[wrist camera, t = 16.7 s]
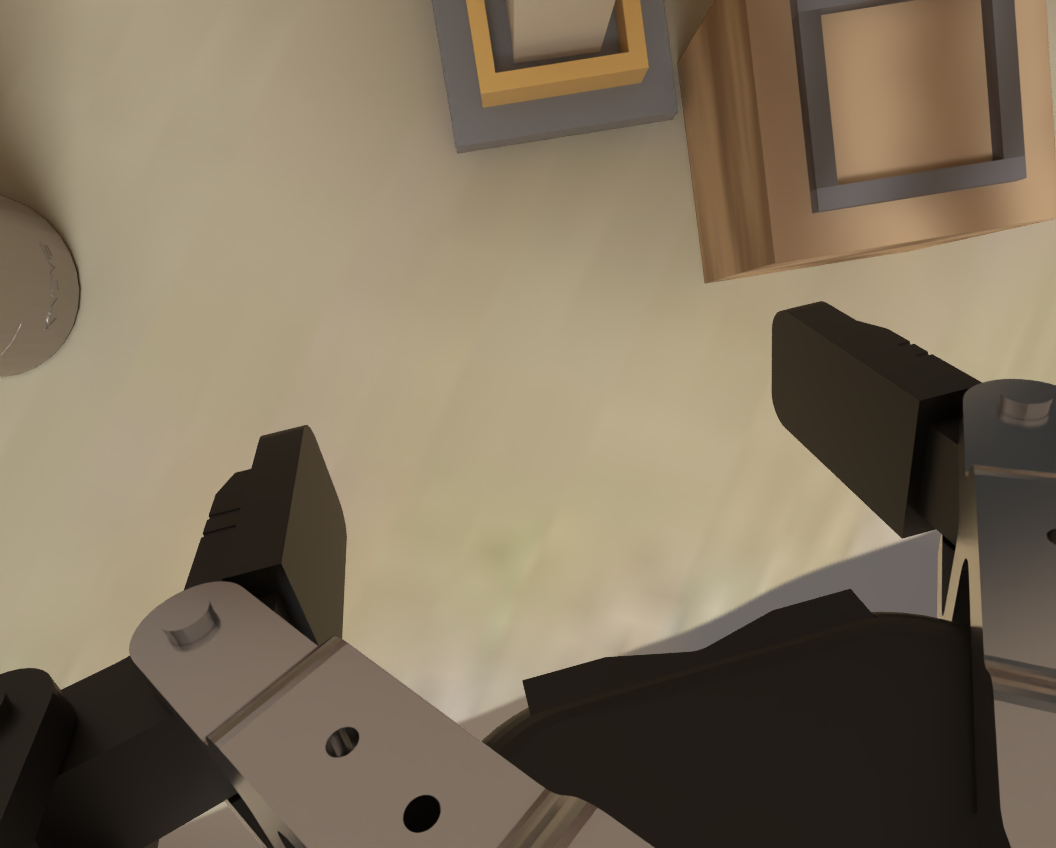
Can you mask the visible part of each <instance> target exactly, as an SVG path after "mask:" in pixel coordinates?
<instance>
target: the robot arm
mask: <svg viewBox="0 0 1056 848" xmlns="http://www.w3.org/2000/svg"><path fill="white" fill-rule="evenodd" d="M78 301H79V285H78V278H77V271H76V268H75V265H74V263H73V260H72V257H71V254H70V252H69V250H68V248H67V247H66V245H65V243H64V242H63V240H62V238H61V237H60V235H59V234H58V233H57V232H56V231H55V230H54V228H53V227H52V226H51V225H50V224H49V223H48V222H47V221H46V220H45V219H44V218H43V217H41V216H40V215H39V214H37V213H36V212H34V211H33V210H32V209H30V208H29V207H27V206H25V205H23V204H21V203H18V202H16V201H14V200H12V199H10V198H6V197H2V196H0V377H5V376H11V375H17V374H21V373H23V372H26V371H28V370H31V369H33V368H36V367H37V366H39V365H40V364H42V363H43V362H45V361H46V360H47V359H49V358H50V357H52V355H53V354H54V353H55V352H56V351H57V350H58V349H59V348H60V347H61V346H62V344H63V343H64V342H65V340H66V338H67V336H68V335H69V333H70V331H71V329H72V327H73V324H74V321H75V317H76V314H77V311H78ZM772 400H773V405H774V408H775V411H776V414H777V416H778V418H779V420H780V422H781V423H782V425H783V426H784V427H785V428H786V429H787V430H788V431H789V432H790V433H791V434H792V435H793V436H794V437H795V438H797V439H798V440H799V441H800V442H801V443H802V444H803V445H804V446H805V447H806V448H807V449H808V450H809V451H810V452H811V453H812V454H813V455H814V456H816V457H817V458H818V459H819V460H820V461H821V462H822V463H823V464H824V465H825V466H826V467H827V468H828V469H829V470H830V471H831V472H832V473H833V474H835V475H836V476H837V477H838V478H839V479H840V480H841V481H842V482H843V483H844V484H845V485H846V486H847V487H848V488H849V489H850V490H851V491H852V492H853V493H855V494H856V495H857V496H858V497H859V498H860V499H861V500H862V501H863V502H864V503H865V504H866V505H867V506H868V507H869V508H870V509H871V510H872V511H874V512H875V513H876V514H877V515H878V516H879V517H880V518H881V519H882V520H883V521H884V522H885V523H886V524H887V525H888V526H889V527H890V528H891V529H893V530H894V531H895V532H896V533H897V534H898V535H899V536H900V537H901V538H906V537H910V536H913V535H917V534H920V533H924V532H928V531H931V530H935V529H937V530H938V531H939V532H940V533H941V539H940V546H939V551H938V599H937V601H938V602H937V618H934V617H929V616H925V615H917V614H909V613H897V612H896V613H895V612H870V611H869V610H868V609H867V607H866V606H865V605H864V604H863V603H862V602H861V600H859V598H858V597H857V596H856V595H855V593H853V591H852V590H851V589H848V590H844V591H841V592H837V593H834V594H830V595H827V596H823V597H819V598H816V599H812V600H809V601H805V602H802V603H798V604H794V605H791V606H787V607H784V608H780V609H776V610H773V611H771V612H769V613H767V614H765V615H764V616H762V617H760V618H758V619H756V620H755V621H753V622H751V623H749V624H747V625H746V626H744V627H742V628H741V629H738V630H737V631H735V632H733V633H731V634H730V635H728V636H726V637H724V638H722V639H720V640H719V641H717V642H715V643H713V644H711V645H710V646H708V647H706V648H704V649H701V650H698V651H693V652H681V653H665V654H651V655H634V656H618V657H605V658H601V659H598V660H594V661H590V662H587V663H583V664H580V665H576V666H573V667H569V668H565V669H562V670H558V671H555V672H551V673H548V674H544V675H540V676H537V677H533V678H530V679H526V680H523V685H524V690H525V694H526V698H527V702H528V706H529V707H528V708H526V709H525V710H523V711H521V712H519V713H518V714H516V715H514V716H513V717H511V718H510V719H508V720H507V721H506V722H504V723H503V724H501V725H500V726H498V727H497V728H496V729H495V730H493V731H492V732H491V733H490V734H489V735H488V736H487V737H485V738H484V739H483V740H482V741H480V740H479V739H477V738H476V737H475V736H473V735H472V734H471V733H469V732H468V731H466V730H465V729H464V728H462V727H461V726H460V725H458V724H457V723H456V722H454V721H453V720H452V719H450V718H449V717H448V716H446V715H445V714H443V713H442V712H441V711H439V710H438V709H437V708H435V707H434V706H433V705H431V704H430V703H429V702H427V701H426V700H424V699H423V698H422V697H420V696H419V695H418V694H416V693H415V692H414V691H412V690H411V689H410V688H408V687H407V686H406V685H404V684H403V683H401V682H400V681H399V680H397V679H396V678H395V677H393V676H392V675H391V674H389V673H388V672H387V671H385V670H384V669H382V668H381V667H380V666H378V665H377V664H376V663H374V662H373V661H372V660H370V659H369V658H368V657H366V656H365V655H363V654H362V653H361V652H359V651H358V650H357V649H355V648H354V647H353V646H351V645H350V644H349V643H347V642H346V641H344V640H343V639H342V628H343V606H344V584H345V563H346V541H347V535H346V526H345V520H344V515H343V511H342V508H341V504H340V501H339V499H338V496H337V493H336V491H335V488H334V485H333V483H332V480H331V478H330V475H329V472H328V470H327V467H326V464H325V462H324V459H323V456H322V454H321V451H320V449H319V446H318V443H317V441H316V438H315V436H314V434H313V432H312V430H311V428H310V427H309V426H308V425H304V426H300V427H296V428H292V429H288V430H284V431H279V432H275V433H271V434H267V435H263V436H261V437H260V439H259V443H258V446H257V450H256V454H255V457H254V461H253V465H252V468H251V469H249V470H245V471H241V472H237V473H235V474H234V475H233V476H232V477H231V478H230V479H229V480H228V481H227V482H226V484H225V485H224V486H223V487H222V488H221V489H220V490H219V491H218V493H217V494H216V495H215V498H214V501H213V504H212V507H211V510H210V513H209V518H210V519H209V520H207V522H206V525H205V528H204V531H203V535H204V537H202V538H201V540H200V543H199V546H198V549H197V552H196V555H195V558H194V561H193V564H192V567H191V570H190V573H189V576H188V579H187V582H186V585H185V588H184V591H182V592H180V593H178V594H176V595H174V596H172V597H171V598H169V599H167V600H166V601H164V602H163V603H162V604H160V605H159V606H157V607H156V608H155V609H154V610H153V611H152V612H150V613H149V614H148V615H147V616H146V618H145V619H144V620H143V621H142V622H141V623H140V625H139V626H138V627H137V629H136V630H135V632H134V634H133V636H132V639H131V642H130V647H129V652H130V656H128V657H127V658H125V659H123V660H121V661H119V662H117V663H116V664H114V665H112V666H110V667H107V668H105V669H103V670H101V671H99V672H97V673H95V674H93V675H91V676H89V677H87V678H85V679H83V680H81V681H79V682H76V683H74V684H72V685H70V686H68V687H66V688H64V689H62V690H60V689H59V687H58V686H57V685H56V683H55V682H54V681H53V679H52V678H51V677H50V675H49V674H48V673H46V672H45V671H43V670H40V669H36V668H25V669H17V670H13V671H9V672H6V673H3V674H0V848H157V847H158V842H159V839H160V838H161V837H163V836H165V835H167V834H168V833H170V832H172V831H173V830H175V829H177V828H179V827H180V826H182V825H184V824H185V823H187V822H189V821H191V820H192V819H194V818H196V817H197V816H199V815H201V814H203V813H204V812H206V811H208V810H209V809H211V808H213V807H215V806H216V805H218V804H220V803H221V802H223V801H225V802H226V803H227V805H228V806H229V807H230V808H231V810H232V811H233V812H234V813H235V814H236V816H237V817H238V818H239V819H240V820H241V822H242V823H243V824H244V825H245V826H246V828H247V829H248V830H249V831H250V833H251V834H252V835H253V836H254V837H255V839H256V840H257V841H258V842H259V843H260V845H261V846H262V847H263V848H1056V385H1053V384H1049V383H1044V382H1040V381H1033V380H1024V379H1000V380H992V381H987V382H983V383H982V382H980V381H978V380H976V379H975V378H973V377H971V376H969V375H968V374H966V373H964V372H962V371H961V370H959V369H957V368H955V367H954V366H952V365H950V364H948V363H947V362H945V361H943V360H941V359H940V358H938V357H936V356H934V355H933V354H932V355H928V352H927V351H926V350H924V349H922V348H920V347H919V346H917V345H915V344H912V345H910V341H908V340H906V339H905V338H903V337H901V336H899V335H897V334H896V333H894V332H892V331H890V330H889V329H886V328H882V327H879V326H875V325H871V324H867V323H864V322H860V321H856V320H855V319H853V318H851V317H850V316H848V315H846V314H844V313H843V312H841V311H839V310H838V309H836V308H834V307H833V306H831V305H829V304H827V303H825V302H822V301H820V302H816V303H812V304H807V305H803V306H799V307H795V308H791V309H787V310H783V311H779V312H778V313H777V314H776V315H775V317H774V320H773V324H772Z"/></svg>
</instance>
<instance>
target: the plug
mask: <svg viewBox="0 0 1056 848" xmlns="http://www.w3.org/2000/svg"><path fill="white" fill-rule="evenodd" d="M614 3H615V0H506V6H507V14H508V22H509V29H510V37H511V45H512V53H513V60H514V63H520V62H527V61H535V60H543V59H550V58H558V57H565V56H573V55H580V54H588V53H595V52H600V50H601V46H602V43H603V40H604V37H605V33H606V30H607V27H608V23H609V20H610V17H611V13H612V10H613V7H614Z"/></svg>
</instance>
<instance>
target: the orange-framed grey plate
mask: <svg viewBox="0 0 1056 848" xmlns="http://www.w3.org/2000/svg"><path fill="white" fill-rule="evenodd" d="M432 4H433V10H434V16H435V22H436V28H437V34H438V41H439V47H440V53H441V59H442V65H443V71H444V77H445V83H446V90H447V96H448V102H449V108H450V114H451V120H452V126H453V132H454V139H455V145H456V149H457V152H458V153H462V152H469V151H475V150H481V149H488V148H494V147H500V146H507V145H513V144H519V143H526V142H532V141H538V140H545V139H551V138H557V137H564V136H570V135H576V134H583V133H589V132H595V131H601V130H608V129H614V128H620V127H627V126H633V125H639V124H646V123H652V122H658V121H665V120H671V119H673V118H674V116H675V115H676V113H677V112H678V110H677V102H676V94H675V87H674V79H673V71H672V63H671V55H670V47H669V39H668V31H667V23H666V15H665V7H664V0H615V3H614V7H613V10H612V13H611V17H610V20H609V23H608V27H607V30H606V33H605V37H604V40H603V43H602V46H601V50H600V52H595V53H588V54H580V55H573V56H565V57H558V58H550V59H543V60H535V61H527V62H520V63H514V60H513V53H512V45H511V37H510V29H509V22H508V14H507V6H506V0H432Z"/></svg>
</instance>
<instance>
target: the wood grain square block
mask: <svg viewBox="0 0 1056 848" xmlns="http://www.w3.org/2000/svg"><path fill="white" fill-rule="evenodd" d="M678 71H679V79H680V87H681V95H682V103H683V111H684V119H685V127H686V135H687V143H688V151H689V159H690V167H691V175H692V183H693V191H694V199H695V207H696V215H697V223H698V231H699V239H700V247H701V255H702V263H703V271H704V279H705V283H710V282H717V281H723V280H729V279H736V278H742V277H748V276H754V275H761V274H767V273H773V272H780V271H786V270H792V269H799V268H805V267H811V266H818V265H824V264H830V263H836V262H843V261H849V260H855V259H862V258H868V257H874V256H881V255H887V254H893V253H900V252H906V251H912V250H917V249H922V248H926V247H931V246H935V245H940V244H944V243H949V242H953V241H958V240H962V239H967V238H971V237H976V236H980V235H985V234H989V233H994V232H998V231H1003V230H1007V229H1012V228H1016V227H1021V226H1025V225H1030V224H1034V223H1039V222H1043V221H1048V220H1052V219H1056V150H1055V135H1054V119H1053V104H1052V88H1051V73H1050V57H1049V42H1048V26H1047V11H1046V0H715V1H714V3H713V5H712V6H711V8H710V10H709V11H708V13H707V15H706V16H705V18H704V20H703V21H702V23H701V25H700V26H699V28H698V30H697V31H696V33H695V35H694V37H693V38H692V40H691V42H690V43H689V45H688V47H687V48H686V50H685V52H684V53H683V55H682V57H681V58H680V60H679V62H678Z"/></svg>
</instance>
